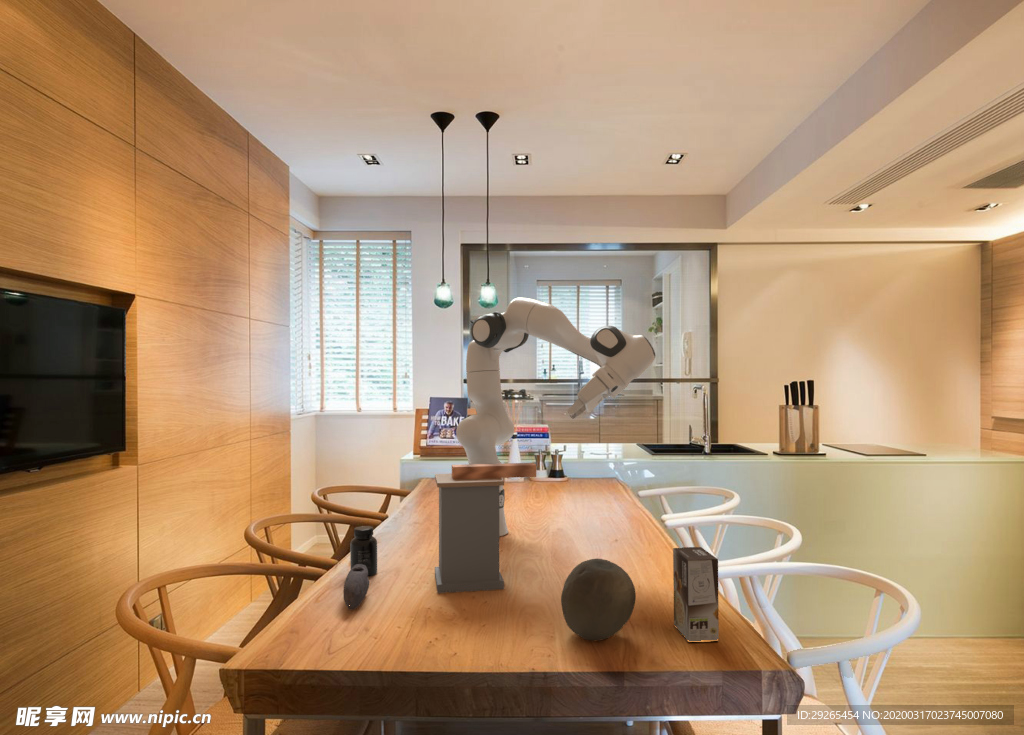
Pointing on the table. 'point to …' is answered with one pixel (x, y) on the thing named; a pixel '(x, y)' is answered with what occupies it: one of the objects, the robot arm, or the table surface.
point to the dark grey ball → (597, 599)
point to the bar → (493, 470)
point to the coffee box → (696, 593)
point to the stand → (468, 534)
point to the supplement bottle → (364, 549)
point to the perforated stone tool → (356, 586)
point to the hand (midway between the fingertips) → (569, 415)
